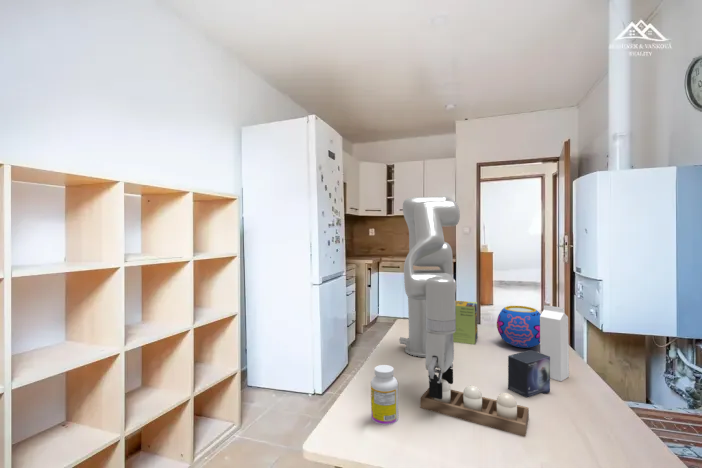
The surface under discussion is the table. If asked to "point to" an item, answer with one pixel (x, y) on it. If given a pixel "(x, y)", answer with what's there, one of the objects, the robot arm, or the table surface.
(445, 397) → the white rounded cylinder
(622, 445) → the table surface
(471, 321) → the protein box
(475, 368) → the table surface
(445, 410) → the crate
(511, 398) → the egg far
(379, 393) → the supplement bottle
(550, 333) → the milk
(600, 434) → the table surface
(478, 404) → the egg middle
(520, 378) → the small box
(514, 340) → the ceramic pot
